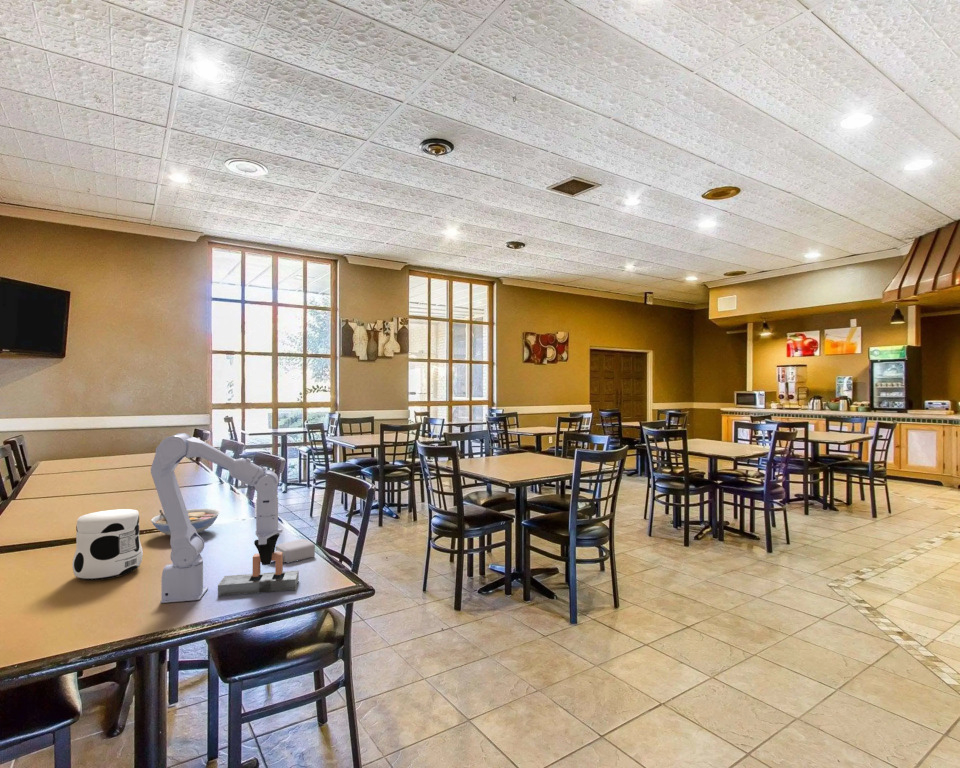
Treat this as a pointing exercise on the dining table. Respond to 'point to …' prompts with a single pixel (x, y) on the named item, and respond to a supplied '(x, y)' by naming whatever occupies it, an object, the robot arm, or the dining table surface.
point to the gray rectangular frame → (258, 583)
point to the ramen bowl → (197, 518)
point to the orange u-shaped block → (275, 557)
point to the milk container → (107, 544)
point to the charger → (296, 550)
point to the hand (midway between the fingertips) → (267, 562)
